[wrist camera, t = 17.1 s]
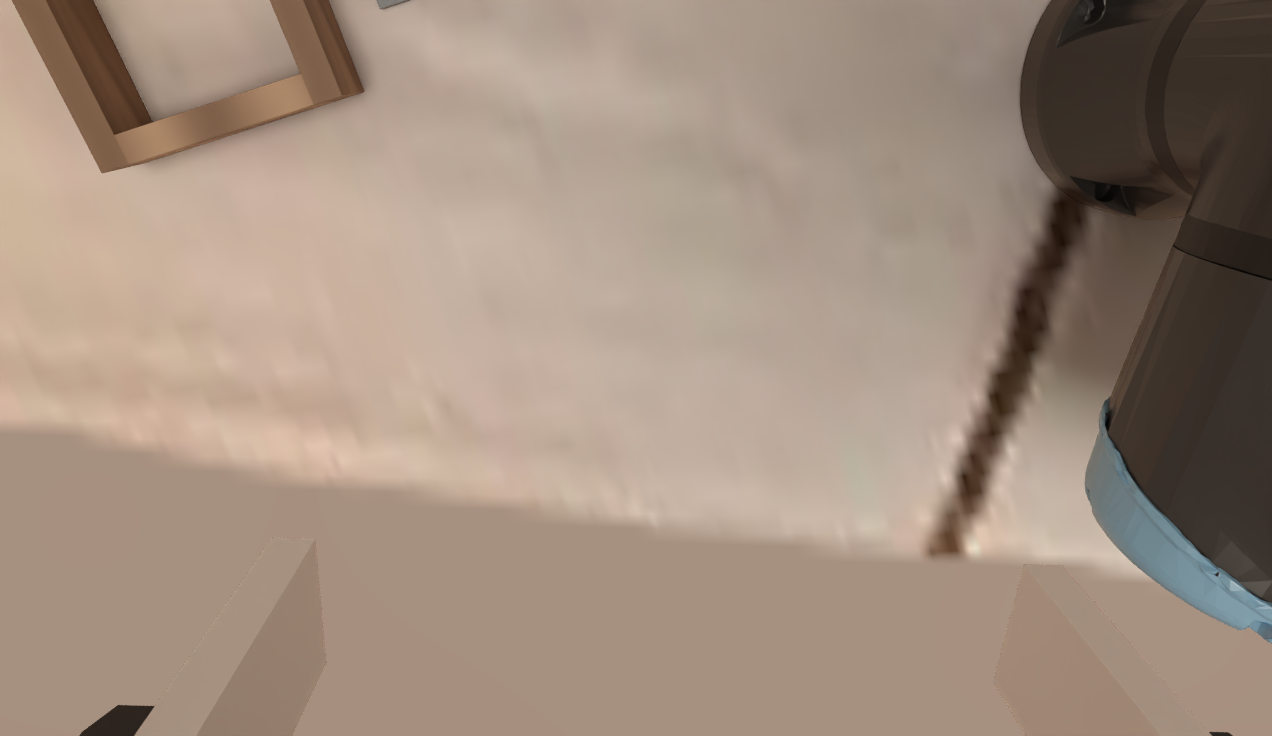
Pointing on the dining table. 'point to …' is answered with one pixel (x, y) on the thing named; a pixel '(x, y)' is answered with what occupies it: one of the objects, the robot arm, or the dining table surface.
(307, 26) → the walnut collar
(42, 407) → the dining table surface
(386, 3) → the slate mat
